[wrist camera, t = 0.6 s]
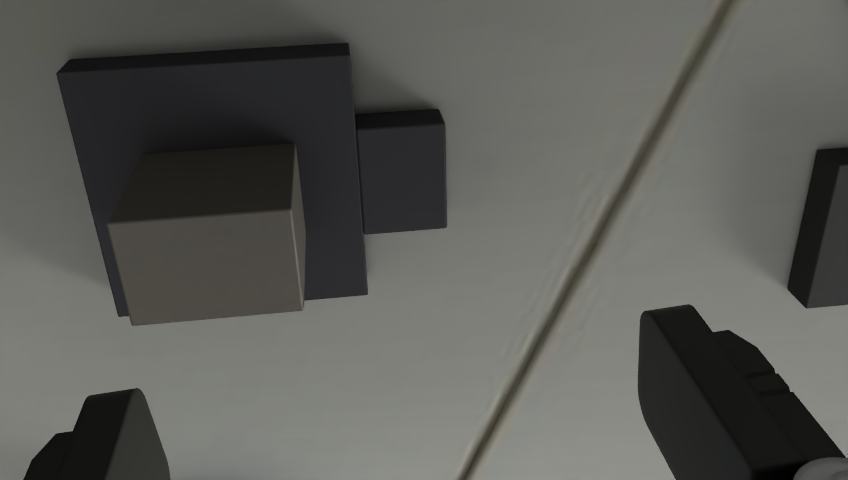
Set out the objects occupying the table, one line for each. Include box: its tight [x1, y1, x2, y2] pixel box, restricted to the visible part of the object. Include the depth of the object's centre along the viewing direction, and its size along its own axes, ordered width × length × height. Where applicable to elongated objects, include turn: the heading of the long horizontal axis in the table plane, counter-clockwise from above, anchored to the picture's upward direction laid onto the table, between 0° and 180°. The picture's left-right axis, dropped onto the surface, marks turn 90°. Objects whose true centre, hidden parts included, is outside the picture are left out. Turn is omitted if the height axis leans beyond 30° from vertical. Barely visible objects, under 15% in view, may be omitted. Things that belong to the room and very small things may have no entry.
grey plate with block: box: [56, 43, 447, 326], centre depth 26 cm, size 9×12×6 cm
